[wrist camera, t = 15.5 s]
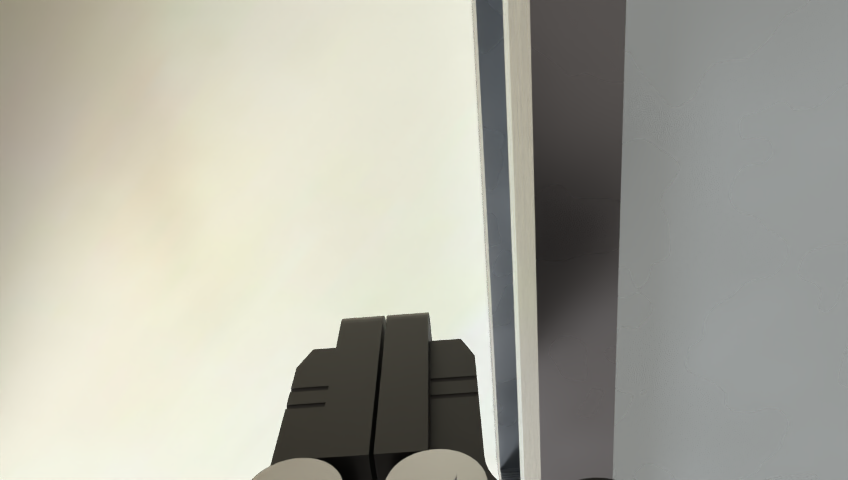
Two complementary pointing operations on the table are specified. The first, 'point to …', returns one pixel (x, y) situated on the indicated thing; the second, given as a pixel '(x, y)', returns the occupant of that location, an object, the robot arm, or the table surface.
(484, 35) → the housing
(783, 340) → the cover
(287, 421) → the robot arm
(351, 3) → the table surface
